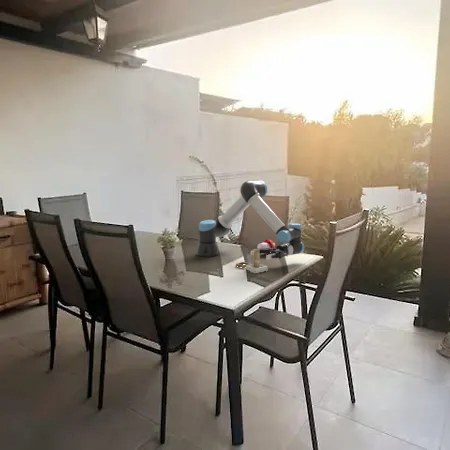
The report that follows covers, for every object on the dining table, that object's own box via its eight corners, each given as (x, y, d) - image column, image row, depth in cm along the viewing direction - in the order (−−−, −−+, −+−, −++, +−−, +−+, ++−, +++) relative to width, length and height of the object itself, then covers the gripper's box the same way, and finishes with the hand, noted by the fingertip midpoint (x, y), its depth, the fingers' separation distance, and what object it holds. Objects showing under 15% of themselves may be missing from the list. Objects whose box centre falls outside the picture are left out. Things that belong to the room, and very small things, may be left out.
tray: (245, 270, 232) (245, 265, 231) (257, 268, 237) (257, 263, 237) (256, 273, 225) (256, 268, 224) (267, 271, 230) (267, 266, 230)
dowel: (252, 269, 231) (252, 249, 229) (256, 268, 233) (256, 248, 231) (256, 270, 228) (256, 250, 226) (260, 269, 230) (260, 249, 229)
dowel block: (235, 266, 240) (235, 263, 240) (244, 264, 245) (244, 261, 244) (243, 269, 235) (243, 265, 235) (251, 267, 239) (251, 263, 239)
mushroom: (265, 255, 262) (280, 253, 268) (262, 239, 263) (277, 237, 269) (257, 257, 271) (271, 255, 277) (254, 241, 273) (268, 239, 278)
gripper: (299, 260, 233) (273, 265, 221) (270, 252, 253) (244, 257, 240) (299, 247, 232) (273, 252, 220) (270, 241, 252) (245, 245, 239)
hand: (258, 255), depth 230 cm, fingers open, 13 cm apart
